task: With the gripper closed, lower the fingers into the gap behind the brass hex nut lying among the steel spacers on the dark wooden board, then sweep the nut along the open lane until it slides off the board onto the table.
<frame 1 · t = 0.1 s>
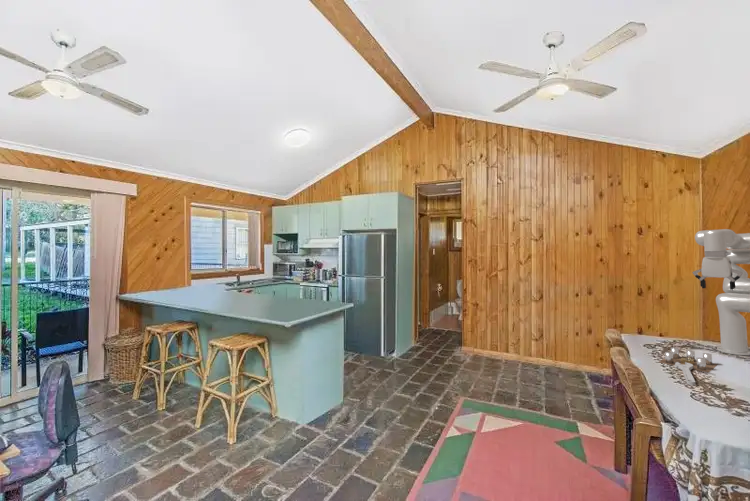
hand: (717, 288, 157), 37 cm above the table, tool pointing down, fingers open, 9 cm apart
nut: (687, 363, 157), point 1 cm above the table, touching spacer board
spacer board: (687, 364, 157), on the table
spacers: (687, 358, 157), on the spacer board
adjustable wrench: (685, 374, 145), on the table, touching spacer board
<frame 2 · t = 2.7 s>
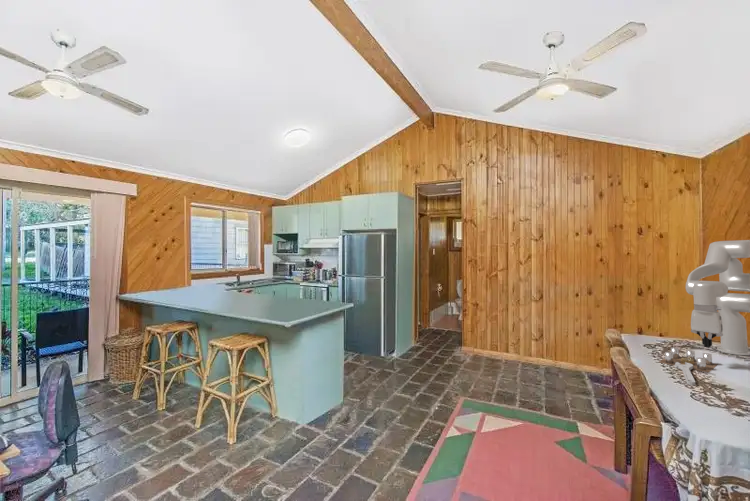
hand: (707, 346, 150), 11 cm above the table, tool pointing down, fingers closed
nothing on the table moved.
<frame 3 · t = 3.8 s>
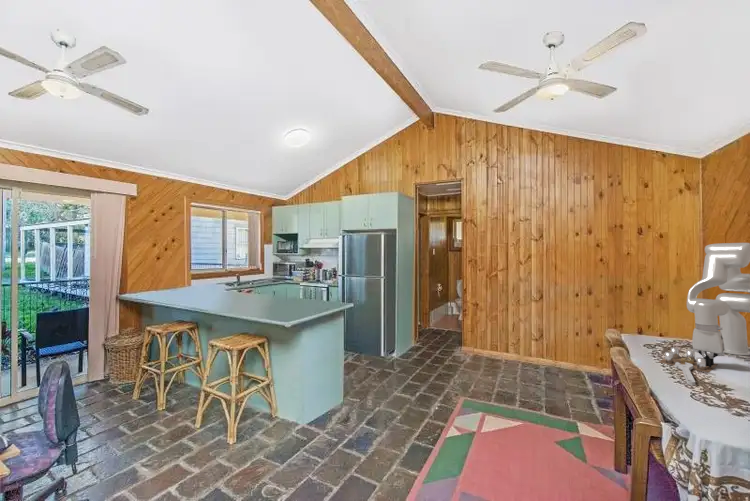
hand: (709, 365, 150), 1 cm above the table, tool pointing down, fingers closed
nothing on the table moved.
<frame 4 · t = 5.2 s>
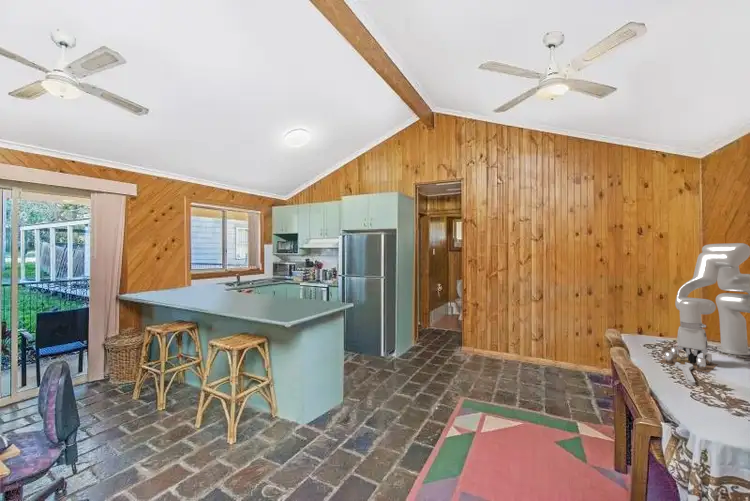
hand: (693, 362, 155), 1 cm above the table, tool pointing down, fingers closed
nut: (683, 362, 158), point 1 cm above the table, touching gripper
everything else where it was.
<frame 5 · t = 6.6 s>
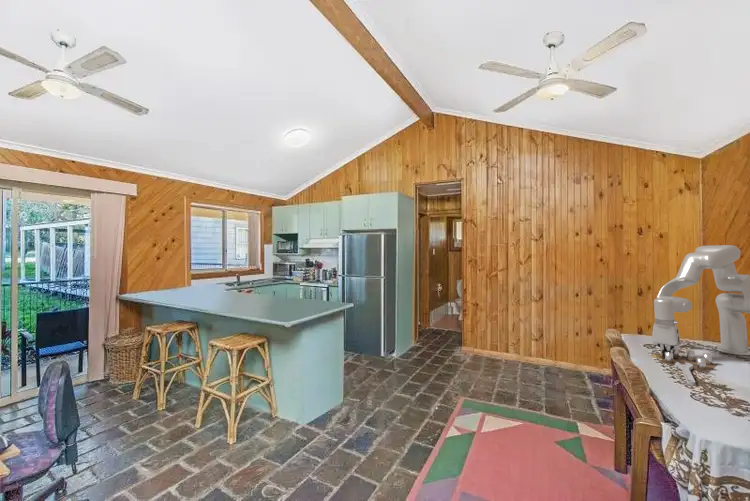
hand: (666, 357, 163), 1 cm above the table, tool pointing down, fingers closed
nut: (658, 358, 166), on the table, touching gripper
everything else where it was.
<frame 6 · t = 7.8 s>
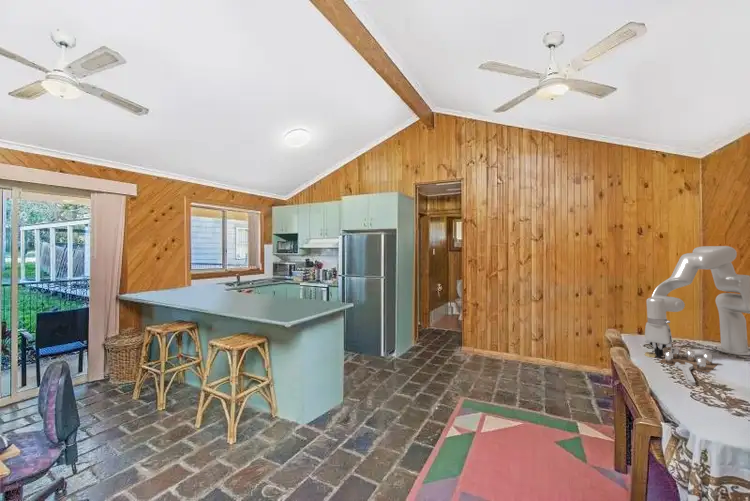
hand: (659, 355, 166), 1 cm above the table, tool pointing down, fingers closed
nut: (650, 357, 169), on the table, touching gripper
everything else where it was.
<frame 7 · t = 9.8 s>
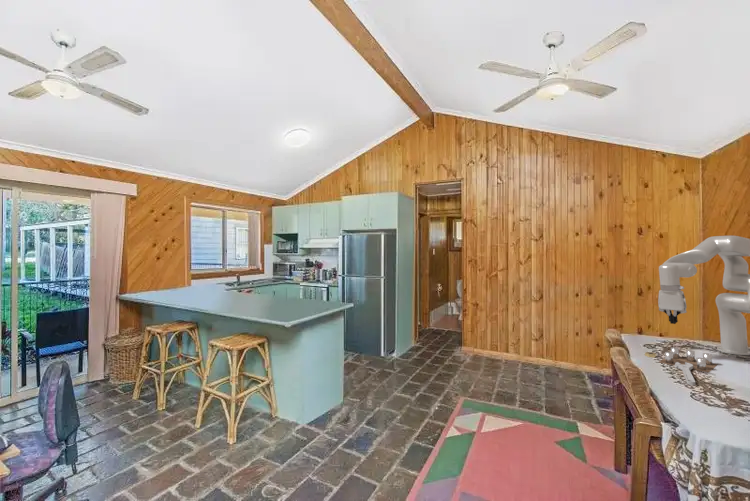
hand: (673, 323, 163), 19 cm above the table, tool pointing down, fingers closed
nut: (650, 357, 169), on the table
everything else where it was.
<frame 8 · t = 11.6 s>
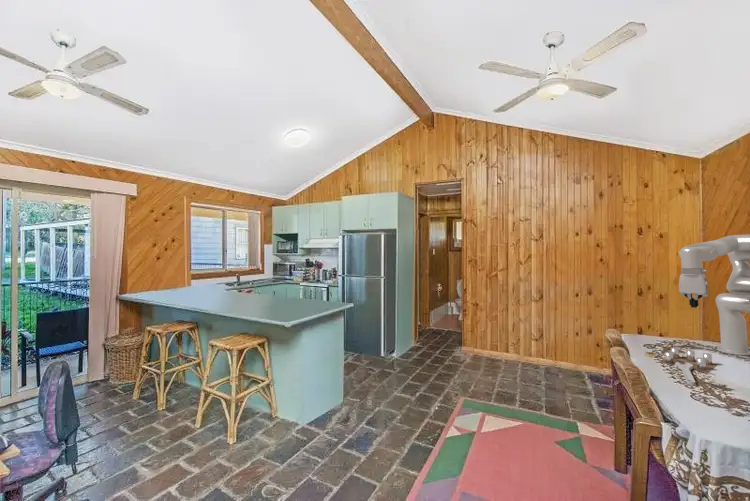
hand: (694, 307, 162), 27 cm above the table, tool pointing down, fingers closed
nothing on the table moved.
at the end: nut inside the target area (1.9 cm from its centre), on the table; nut tilted 0° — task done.
